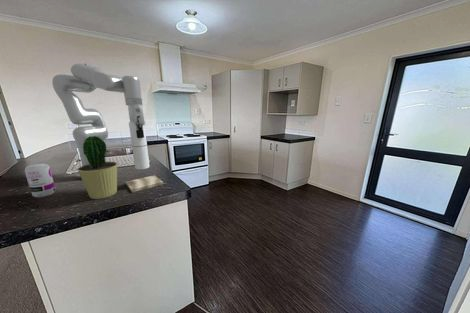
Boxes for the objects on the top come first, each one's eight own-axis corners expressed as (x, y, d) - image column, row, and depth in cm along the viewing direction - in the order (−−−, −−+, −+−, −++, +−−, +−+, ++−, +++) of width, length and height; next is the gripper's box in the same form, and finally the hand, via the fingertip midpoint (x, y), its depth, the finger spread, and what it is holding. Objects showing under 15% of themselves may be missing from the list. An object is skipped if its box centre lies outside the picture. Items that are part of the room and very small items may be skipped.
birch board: (132, 192, 91) (131, 189, 90) (125, 184, 101) (125, 181, 100) (163, 184, 101) (162, 181, 101) (154, 177, 111) (154, 175, 111)
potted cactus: (93, 204, 79) (79, 138, 71) (78, 196, 86) (63, 135, 79) (127, 191, 92) (118, 134, 84) (112, 185, 99) (102, 132, 92)
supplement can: (55, 189, 94) (47, 162, 90) (57, 193, 89) (49, 165, 85) (32, 194, 88) (23, 165, 84) (33, 199, 83) (23, 169, 79)
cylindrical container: (139, 170, 93) (132, 122, 87) (132, 167, 98) (126, 122, 91) (151, 167, 99) (146, 122, 93) (145, 164, 103) (140, 121, 97)
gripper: (147, 102, 86) (151, 138, 90) (137, 103, 98) (141, 134, 103) (129, 101, 81) (135, 139, 85) (121, 102, 93) (126, 135, 98)
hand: (138, 136), depth 94 cm, fingers closed on cylindrical container, 7 cm apart
